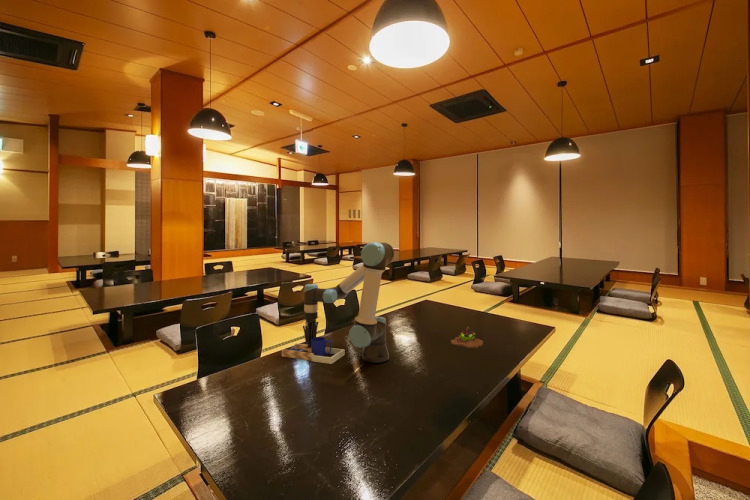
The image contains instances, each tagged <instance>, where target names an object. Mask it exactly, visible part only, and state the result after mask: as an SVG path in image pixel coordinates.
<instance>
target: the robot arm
mask: <svg viewBox="0 0 750 500" xmlns="http://www.w3.org/2000/svg"><path fill="white" fill-rule="evenodd" d="M360 258H361V260H362V262H363V264H361V265H360V266H359V267H357V269H356V270H354V271H353V272H352V273H351V274H349V275H348V276H347V277H345V278H344V279H343V280H342V281H341V282H340V283H339V284H337V285H336V286H334V287H329V288H328V287H327V288H320V287H319V286H318V284H317V283H307V284H305V285H304V290H303V297H304V299H303V302H304V303H303V304H304V305H303V306H304V307H303V309H304V313H303V319H304V320H305V325H302V328H303V333H304V334H303V335H304V341H305V342H306V343H307V345H308V351H307V352H308V353H312V349H311V339H312V338H314V337H317V334H318V325H319V321H317V319H318V317H319V313H318V310H319V307H318V306H319V305H318V304H319V303H326V304H331V303H332V304H333V303H336V301H338V300H339V301H340V300H343V299H345V298H347V296H348V294H349V293H350V292H351V291H352V290H354V289H356V287H358V286H359V285H360V284H362V283H363V284H362V290H361V298H360V303H359V309H358V310H359V311H358V315H357V316H355V318H354V322H353V323H354V324H353V326H351V328H350V329H349V331H348V338H349V341H350V342H351V343H352V344H353V346H354V347H357V348H359V349H361V348H363V349H362V353H361V359H362V360H363V361H365V362H368V363H383V362H387V361H388V360H389V359H390V353H389V350H388V347H387V319H386V317H383V316H376V314H377V307H378V301H379V294H380V289H381V288H380V287H381V283H382V281H381V280H382V274H383V273H384V272H385V271H386V270H387V269H386V268H387V265H389V264H390V263H392V261H393V260H394V258H395V249H394V248H393V246H392V245H391V244H389V243H387V242H379V241H372V242H368V243H367V244H365V245H364V246H363V248H362V250H361V252H360Z"/></svg>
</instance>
